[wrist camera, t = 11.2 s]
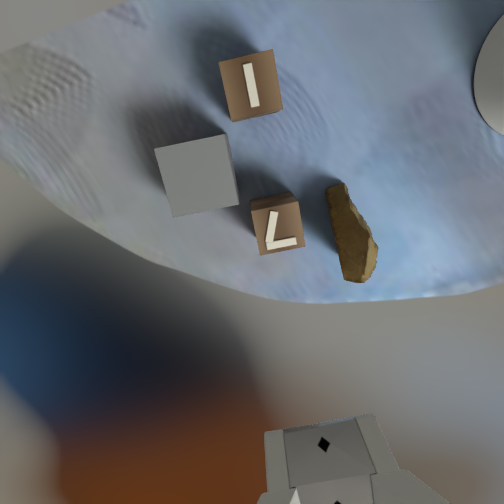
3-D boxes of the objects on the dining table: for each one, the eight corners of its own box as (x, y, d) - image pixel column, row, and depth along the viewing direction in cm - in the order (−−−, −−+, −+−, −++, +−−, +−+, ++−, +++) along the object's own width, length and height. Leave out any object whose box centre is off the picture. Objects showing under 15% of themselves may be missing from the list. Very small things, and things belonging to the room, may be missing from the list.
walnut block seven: (290, 191, 40) (298, 201, 34) (297, 230, 42) (305, 246, 36) (250, 200, 40) (250, 211, 34) (258, 238, 42) (260, 256, 36)
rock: (306, 178, 37) (295, 265, 39) (375, 184, 31) (358, 286, 33) (361, 185, 44) (349, 259, 46) (427, 191, 38) (410, 275, 40)
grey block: (227, 133, 38) (223, 134, 32) (239, 194, 40) (238, 204, 34) (167, 146, 38) (153, 148, 32) (183, 205, 40) (173, 217, 35)
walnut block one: (268, 62, 35) (273, 48, 30) (277, 112, 37) (283, 108, 31) (222, 73, 36) (218, 61, 30) (233, 122, 37) (231, 120, 31)
